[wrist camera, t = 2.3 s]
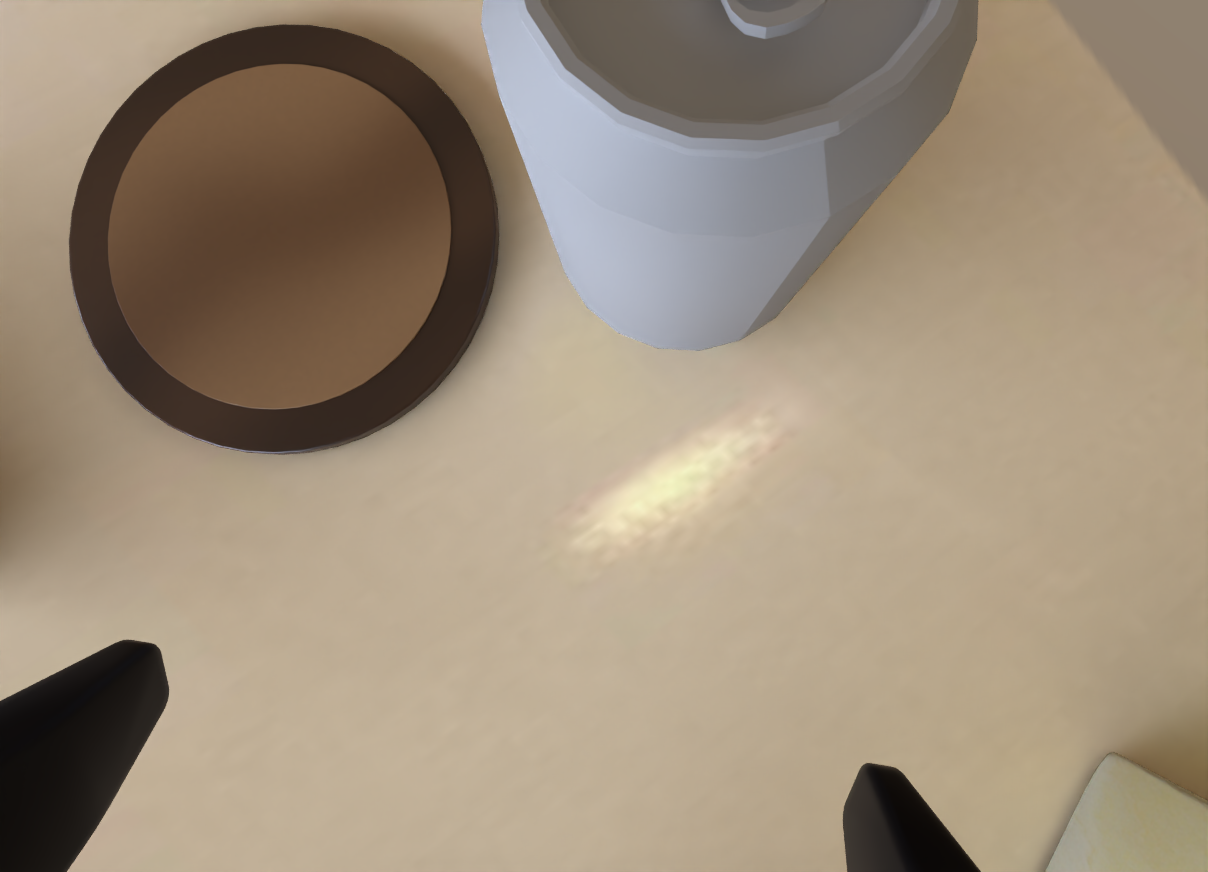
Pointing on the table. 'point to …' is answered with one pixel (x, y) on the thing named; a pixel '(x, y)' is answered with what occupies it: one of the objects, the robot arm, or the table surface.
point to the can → (715, 141)
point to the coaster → (284, 240)
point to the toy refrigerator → (1134, 824)
